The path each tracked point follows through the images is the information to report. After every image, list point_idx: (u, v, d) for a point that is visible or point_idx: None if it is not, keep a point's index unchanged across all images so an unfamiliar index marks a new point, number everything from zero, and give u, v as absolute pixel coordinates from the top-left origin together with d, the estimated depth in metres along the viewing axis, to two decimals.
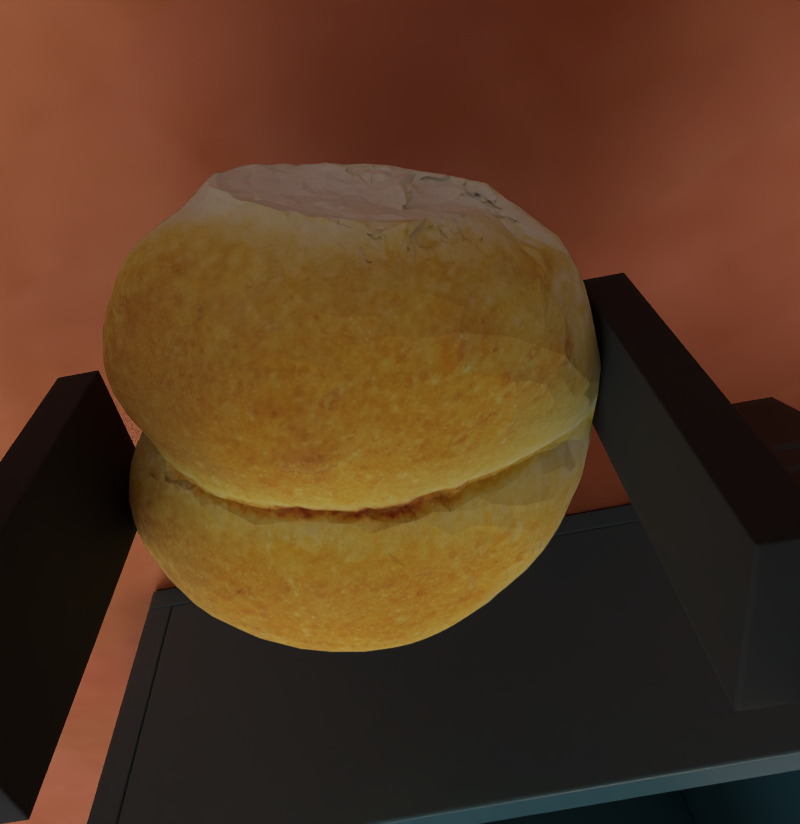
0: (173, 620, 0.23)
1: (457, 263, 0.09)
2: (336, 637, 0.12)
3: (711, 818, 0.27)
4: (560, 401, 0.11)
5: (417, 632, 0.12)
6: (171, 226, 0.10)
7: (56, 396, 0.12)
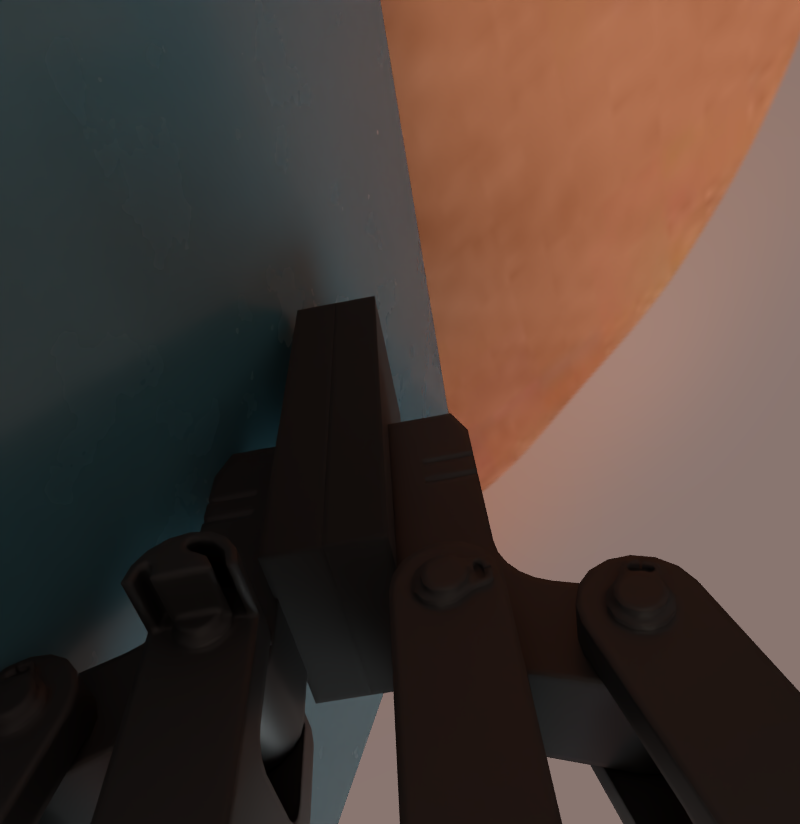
0: None
1: None
2: None
3: None
4: None
5: None
6: None
7: (306, 324, 0.13)
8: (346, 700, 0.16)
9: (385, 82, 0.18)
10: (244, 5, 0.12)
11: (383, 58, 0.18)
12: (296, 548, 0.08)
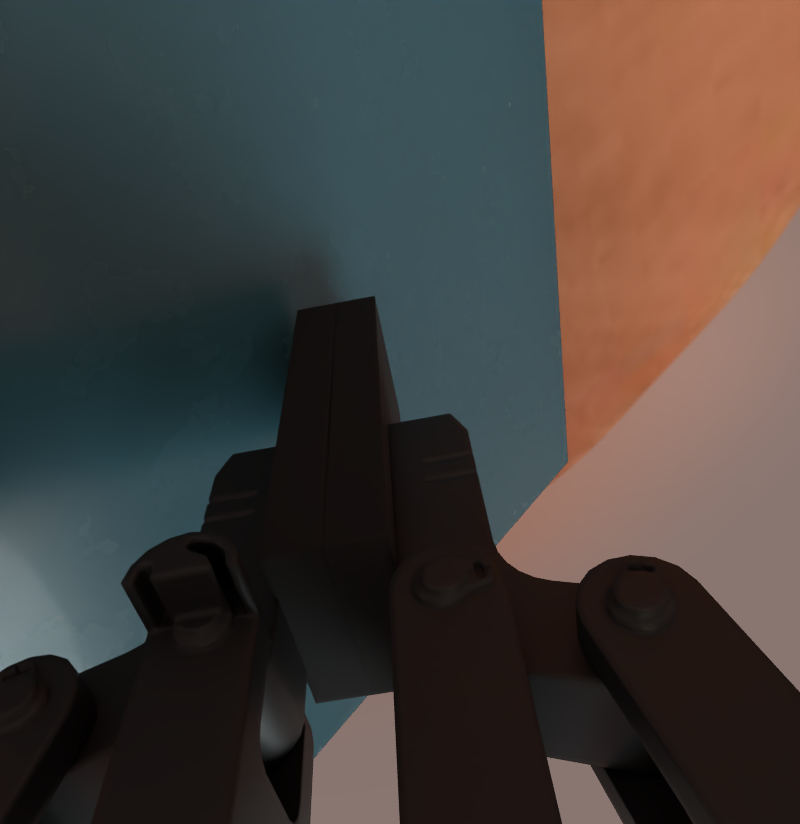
0: None
1: None
2: None
3: None
4: None
5: None
6: None
7: (306, 324, 0.13)
8: None
9: (531, 52, 0.18)
10: None
11: (532, 28, 0.17)
12: (296, 548, 0.08)
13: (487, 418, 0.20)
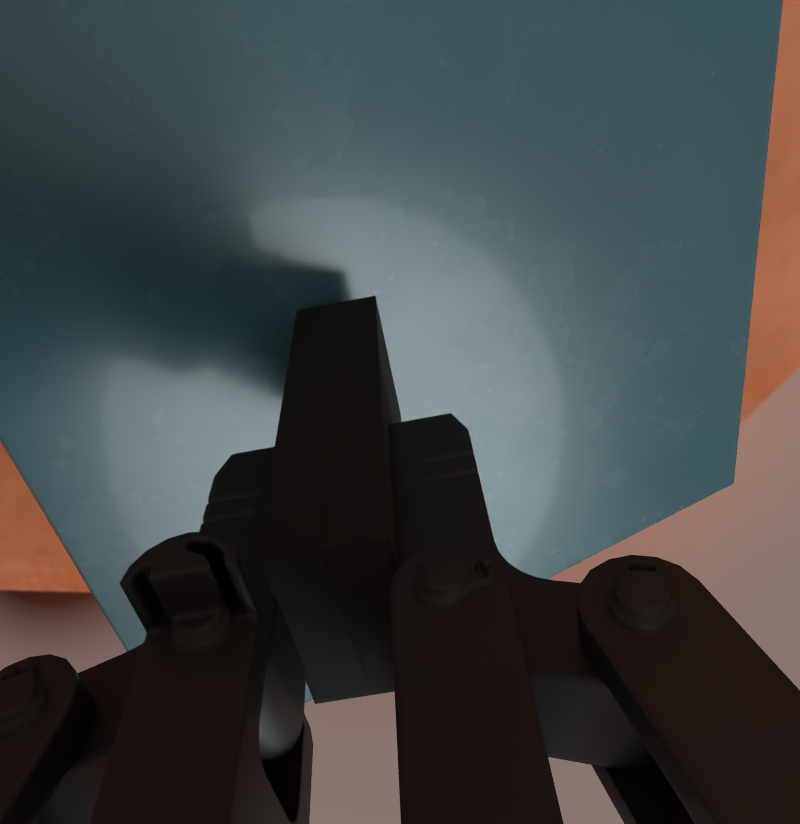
0: None
1: None
2: None
3: None
4: None
5: None
6: None
7: (305, 323, 0.13)
8: None
9: (758, 14, 0.15)
10: None
11: None
12: (295, 548, 0.08)
13: (621, 413, 0.19)
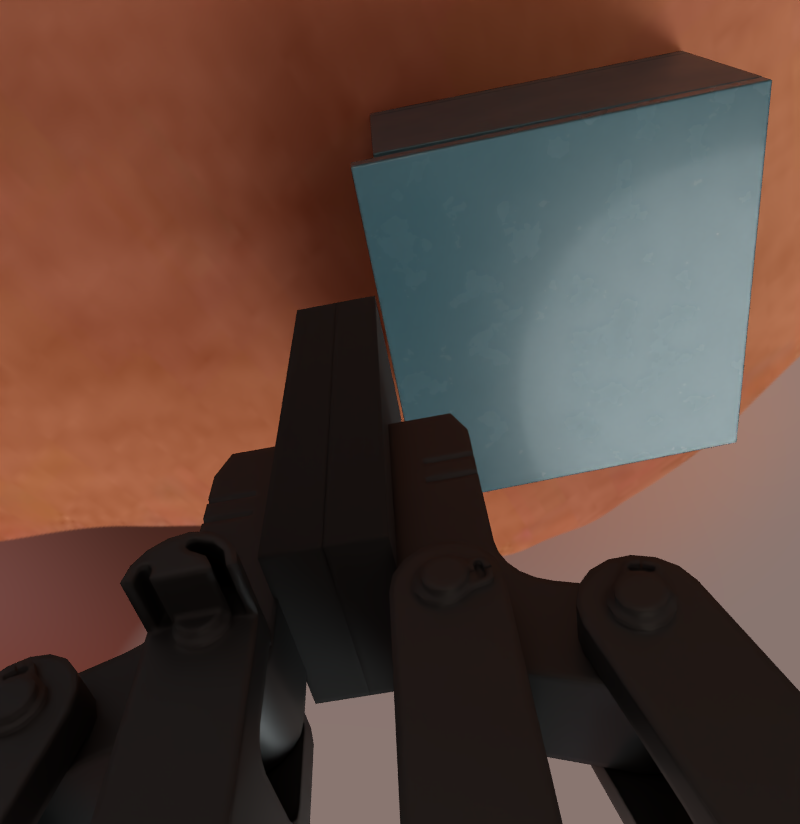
0: None
1: None
2: None
3: None
4: None
5: None
6: None
7: (306, 324, 0.13)
8: (547, 450, 0.38)
9: (744, 209, 0.32)
10: (607, 184, 0.31)
11: (748, 197, 0.32)
12: (295, 548, 0.08)
13: (660, 387, 0.37)
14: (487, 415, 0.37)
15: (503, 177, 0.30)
